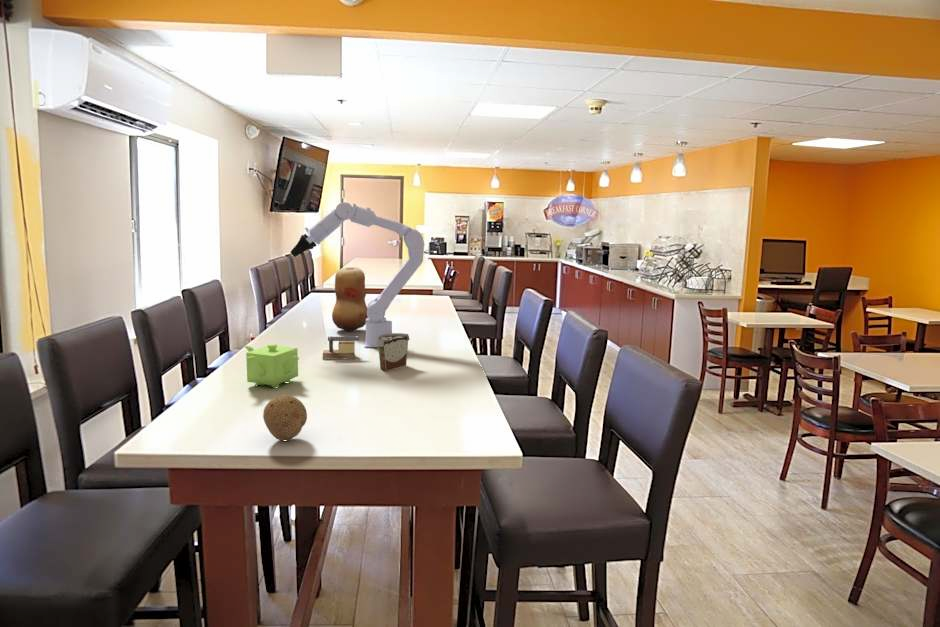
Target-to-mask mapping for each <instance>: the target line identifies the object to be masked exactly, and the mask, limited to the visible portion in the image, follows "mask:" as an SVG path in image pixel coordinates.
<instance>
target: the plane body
mask: <svg viewBox="0 0 940 627" xmlns="http://www.w3.org/2000/svg"><path fill="white" fill-rule="evenodd" d="M355 351H356V350H355ZM355 351H354V353H338V349H334V341H328V349H324V350H323V352H322V358H327V359H326V360H332V359H331V358H355V359H356V354H355V353H356V352H355ZM322 358H321V359H322ZM328 358H330V359H328Z"/></svg>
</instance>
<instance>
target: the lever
mask: <svg viewBox="0 0 940 627" xmlns="http://www.w3.org/2000/svg"><path fill="white" fill-rule="evenodd" d="M360 340H361V338H360V336H358V335H357V336H333V335H332V336H327V342H329V341H333V342H339V341H355V342H359V341H360Z"/></svg>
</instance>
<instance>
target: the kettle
mask: <svg viewBox="0 0 940 627" xmlns="http://www.w3.org/2000/svg"><path fill="white" fill-rule="evenodd" d="M243 347H244V348H245V349H246V350H247V351H248V352H246V353H245V354H246V355H245V356H246V357H245V358H246V377H247V378H246V380H247V382H248V383H255V384H254V386H255V385H262V386H264V385H266V386H267V385H268V386H271V387H273V388H276V387H280V384H282V383H283V382H290V381H291V382H292V379H295V378H297V377H298V376H299V359H300V357H299V355H298V348H297V347H292V346H291V347H290V346H283V345H278V344H276V343H269V344H267V345H266V346H263V347H260V348H257V349H254V348H253V347H252V346H249V345H244V346H243ZM247 382H246V383H247ZM283 384H284V383H283ZM271 387H270V388H271ZM273 388H272V389H273ZM276 389H277V388H276Z"/></svg>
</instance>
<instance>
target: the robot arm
mask: <svg viewBox="0 0 940 627" xmlns="http://www.w3.org/2000/svg"><path fill="white" fill-rule="evenodd" d="M347 220H349V221H350V222H351V223H353V224H354V223H355V224H357V225H361V226H364V227H368V228H370V227H372V226H377V227H380V228H382V229H385V230H388V231H391V232H394V233H396V234H397V235H398V236H399V237H400V238H401V239H403V242H404V244H405V246H406V248H407V253H408V255H407V256H408V258H407V260H406V261H405V262H404V264H402V266H401V268H400V269H399V270H398V272H397V273H396V274H395V275H394V276H393V277H392V279H391V280H390V282H388V284H387V285H386V286H385V288H384V289H383V290H382V292H381V293H380V294H379V295H377V297H376V298H375V299H373V300H371V301H369V303H367V305H366V306H367V316H368V318H367V319H366V324H365V341H364V348H379V347H378V345H376V342H377V338H378V336H380V335H383V334H390V333H393V329H392V328H393V324H392V323H393V321H392V320H388V319H387V317H385V316H386V312H387V310H388V309H389V307H390V305H391V304H392V302H393V301H394V299H395V298H396V297H397V295H398V294H399V293H400V292H401V291H402V289H403V288H404V287H405V285H406V284H407V283H408V281H409V280H410V279H411V277H412V276H413V275H414V274H415V273H416V271H417V270H418V269H419V268H420V267H421V265H422V264H423V262H424V255H425V254H424V253H425V252H424V250H425V240H424V237H423V235H422V233H421V232H420V231H418V230H417V229H415V228H412V227H410V226H408V225H406V224H404V223H403V222H398V221H395V220H391V219H387V218H385V217H381V216H377V215H376V214H375V212H374V210H372V209H371V208H370V207H366V208H365V207H362V206H358V205H357V204H356V203H352V204H350V202H346V201H343V202H339V203H338V204H337V205H336V207H335V208H334V209H332V210H331V211H330V212H328V213H327V214H326V215H324V216H323V217H322V218H320V220H318V221H317V222H316V223H315V224H314V225H312V226H311V228H308V227H305V228H304V230H305V231H306V233H304V234H302V235H300V238H299V240H298V242H297V243H296V244H295V246H294V247H293V248H292V249H291V250H290V254H291V255H292V256H293V257H294V258H296V257H298V256H300V255H301V254H303V253H304V252H307V251H309V250H312V249H314V248H315V247H317V246H319V245H320V244H321V242H323V241H324V240H325V239H326V238H328V237H329V236H330V235H331V234H332V233H333V232H334V231H335V230H337V229H338V228H339V227H340V226H341V225H342V223H344V222H345V221H347Z"/></svg>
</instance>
